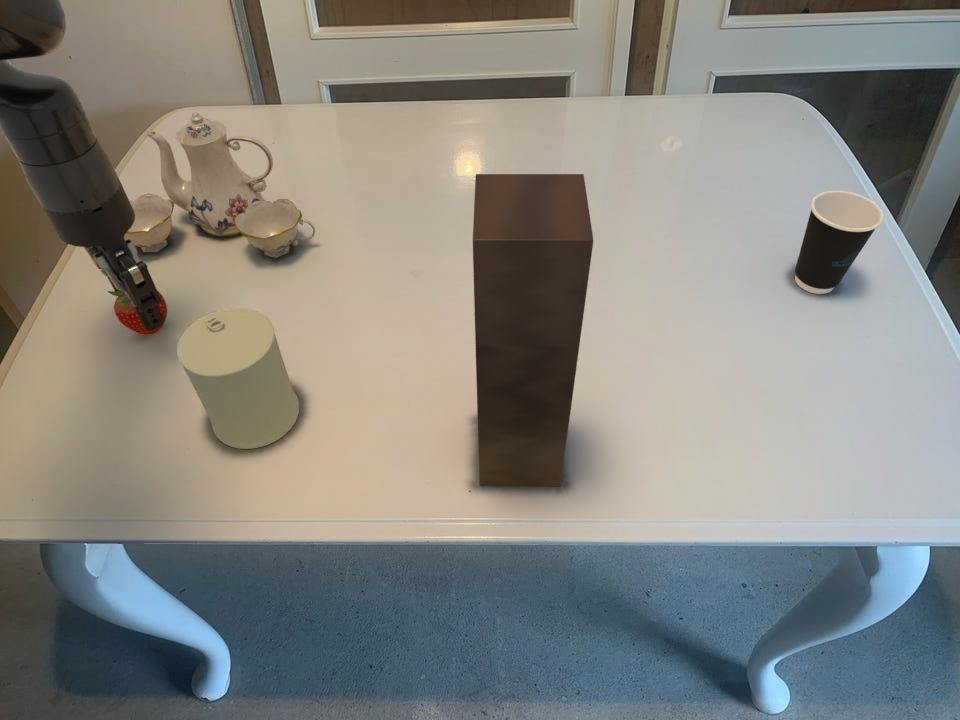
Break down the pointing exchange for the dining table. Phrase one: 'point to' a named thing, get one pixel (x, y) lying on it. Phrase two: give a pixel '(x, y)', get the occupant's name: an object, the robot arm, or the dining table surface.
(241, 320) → the can
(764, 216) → the dining table surface
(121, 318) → the fruit
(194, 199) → the chinaware
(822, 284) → the dixie cup
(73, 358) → the dining table surface
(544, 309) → the plinth
